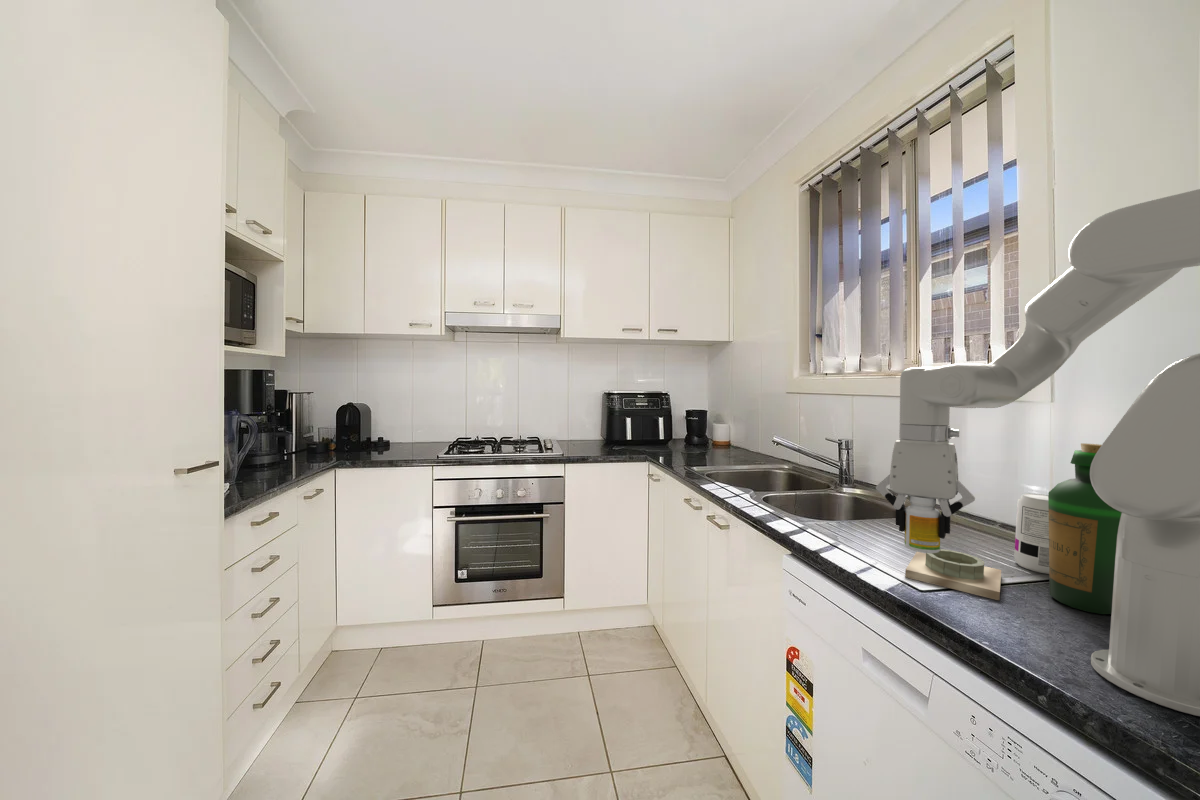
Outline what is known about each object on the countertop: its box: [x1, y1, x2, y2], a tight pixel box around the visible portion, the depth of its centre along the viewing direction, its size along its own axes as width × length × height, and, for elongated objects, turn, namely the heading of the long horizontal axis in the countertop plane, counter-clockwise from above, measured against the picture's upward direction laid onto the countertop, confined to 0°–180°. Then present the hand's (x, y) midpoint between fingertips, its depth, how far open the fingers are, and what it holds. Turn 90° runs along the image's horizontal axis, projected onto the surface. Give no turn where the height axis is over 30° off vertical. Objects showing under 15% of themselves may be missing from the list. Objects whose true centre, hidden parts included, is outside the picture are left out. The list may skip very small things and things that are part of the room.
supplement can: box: [1013, 492, 1049, 575], centre depth 98 cm, size 8×8×15 cm
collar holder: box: [904, 548, 1002, 601], centre depth 92 cm, size 14×14×4 cm
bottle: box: [1047, 443, 1122, 615], centre depth 81 cm, size 11×11×28 cm
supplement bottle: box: [904, 496, 941, 553], centre depth 86 cm, size 5×5×10 cm
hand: (922, 532), depth 86 cm, fingers closed on supplement bottle, 5 cm apart
